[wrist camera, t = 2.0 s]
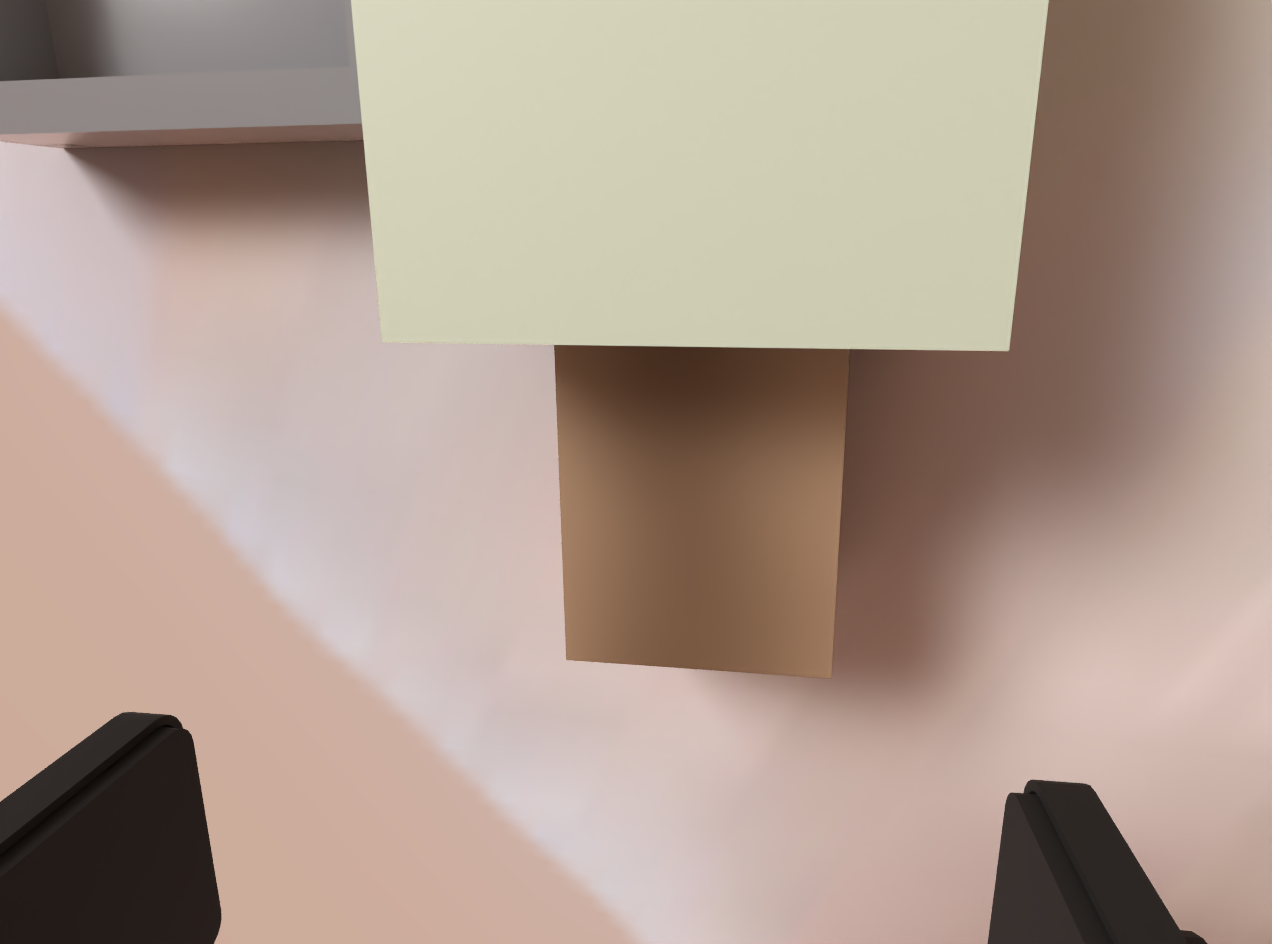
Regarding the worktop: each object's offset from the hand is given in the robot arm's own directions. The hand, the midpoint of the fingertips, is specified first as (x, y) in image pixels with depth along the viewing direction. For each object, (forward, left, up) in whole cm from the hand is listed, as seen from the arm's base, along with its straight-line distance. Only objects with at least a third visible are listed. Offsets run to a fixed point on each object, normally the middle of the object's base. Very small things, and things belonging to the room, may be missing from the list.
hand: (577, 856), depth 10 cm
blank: (-1, -4, -12) cm, 12 cm away
